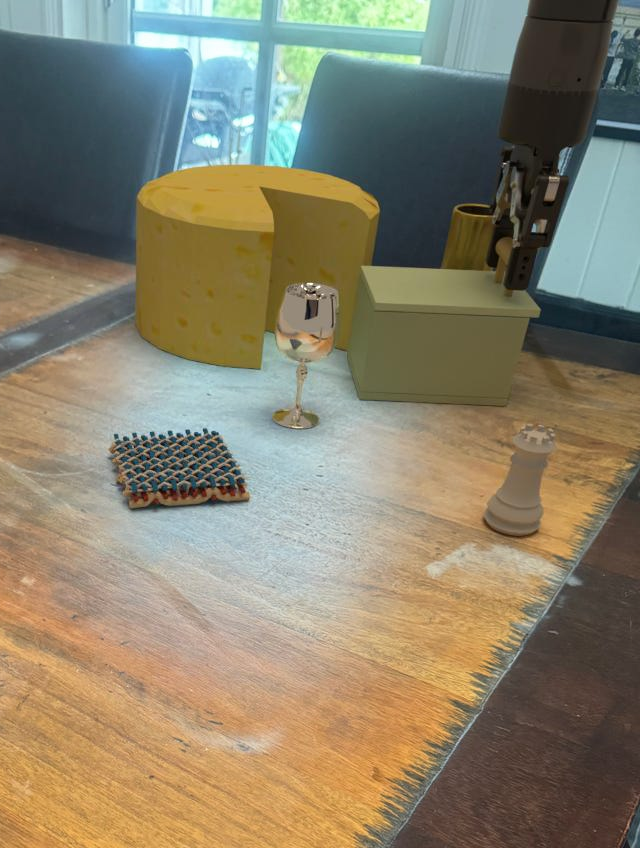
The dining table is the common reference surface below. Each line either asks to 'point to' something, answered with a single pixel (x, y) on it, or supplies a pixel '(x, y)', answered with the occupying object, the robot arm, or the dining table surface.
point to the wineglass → (305, 339)
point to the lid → (448, 289)
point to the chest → (433, 355)
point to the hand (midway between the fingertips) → (505, 276)
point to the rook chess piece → (522, 484)
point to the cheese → (243, 254)
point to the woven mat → (177, 469)
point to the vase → (469, 238)
